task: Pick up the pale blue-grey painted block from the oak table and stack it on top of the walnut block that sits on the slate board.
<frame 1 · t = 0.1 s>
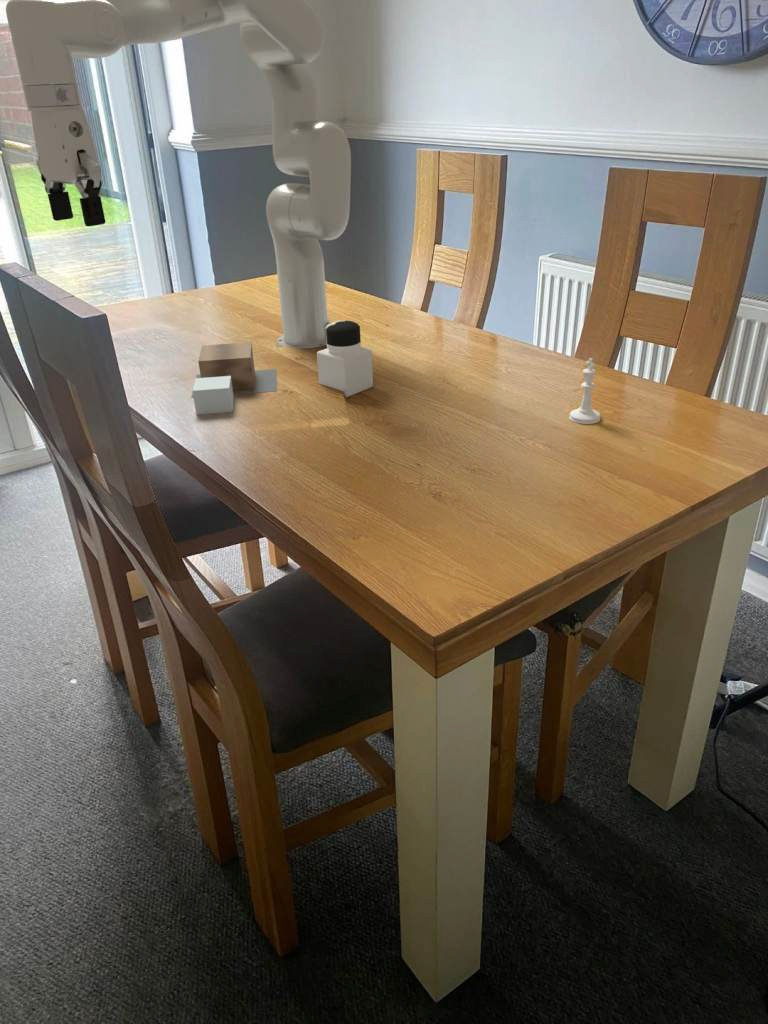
hand: (79, 222, 123), 31 cm above the table, tool pointing down, fingers open, 9 cm apart
walnut block: (230, 383, 144), point 1 cm above the table, touching slate board
blue-grey block: (216, 413, 135), on the table
chess piece: (584, 419, 128), on the table
medicine bottle: (346, 389, 143), on the table
slate board: (236, 388, 145), on the table
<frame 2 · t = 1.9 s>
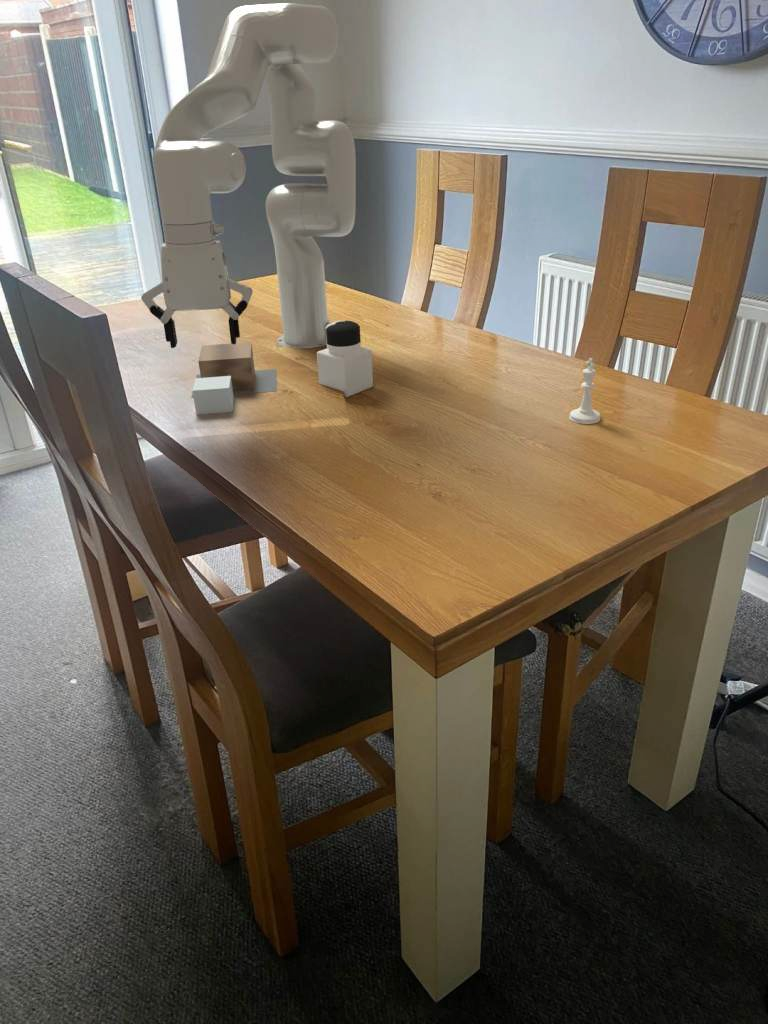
hand: (204, 343, 129), 12 cm above the table, tool pointing down, fingers open, 9 cm apart
nothing on the table moved.
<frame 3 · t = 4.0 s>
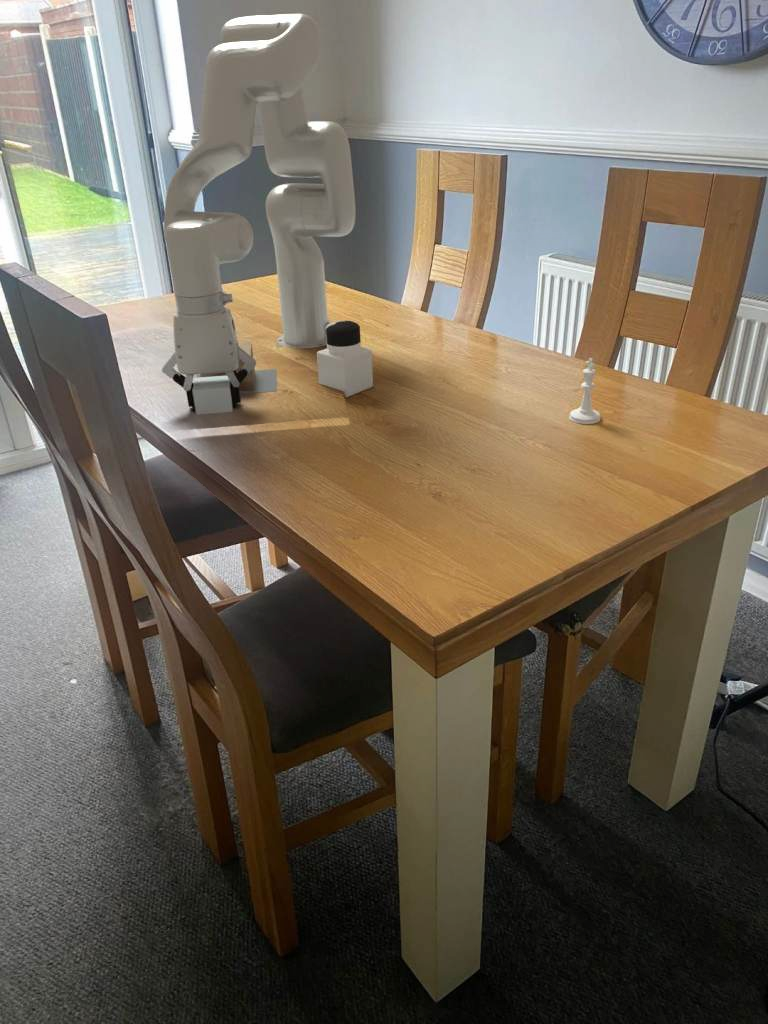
hand: (215, 407, 135), 1 cm above the table, tool pointing down, fingers closed on blue-grey block, 6 cm apart
blue-grey block: (216, 412, 135), on the table, touching gripper
everything else where it was.
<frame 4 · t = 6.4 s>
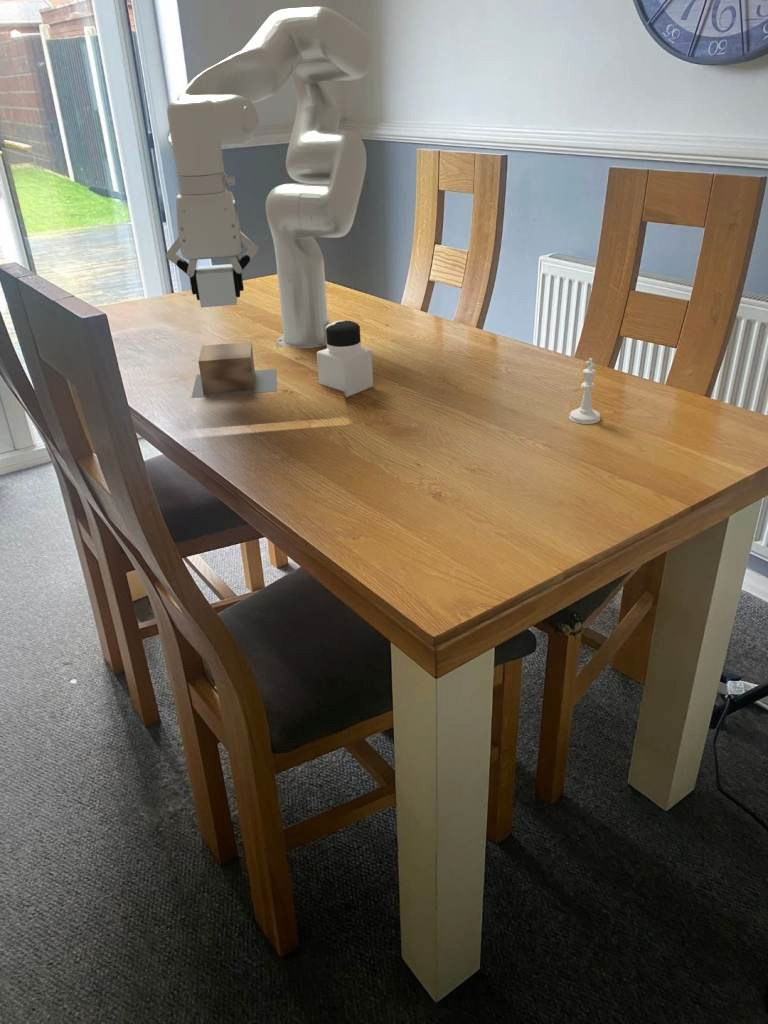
hand: (218, 295, 136), 17 cm above the table, tool pointing down, fingers closed on blue-grey block, 6 cm apart
blue-grey block: (219, 301, 137), point 16 cm above the table, touching gripper
everything else where it was.
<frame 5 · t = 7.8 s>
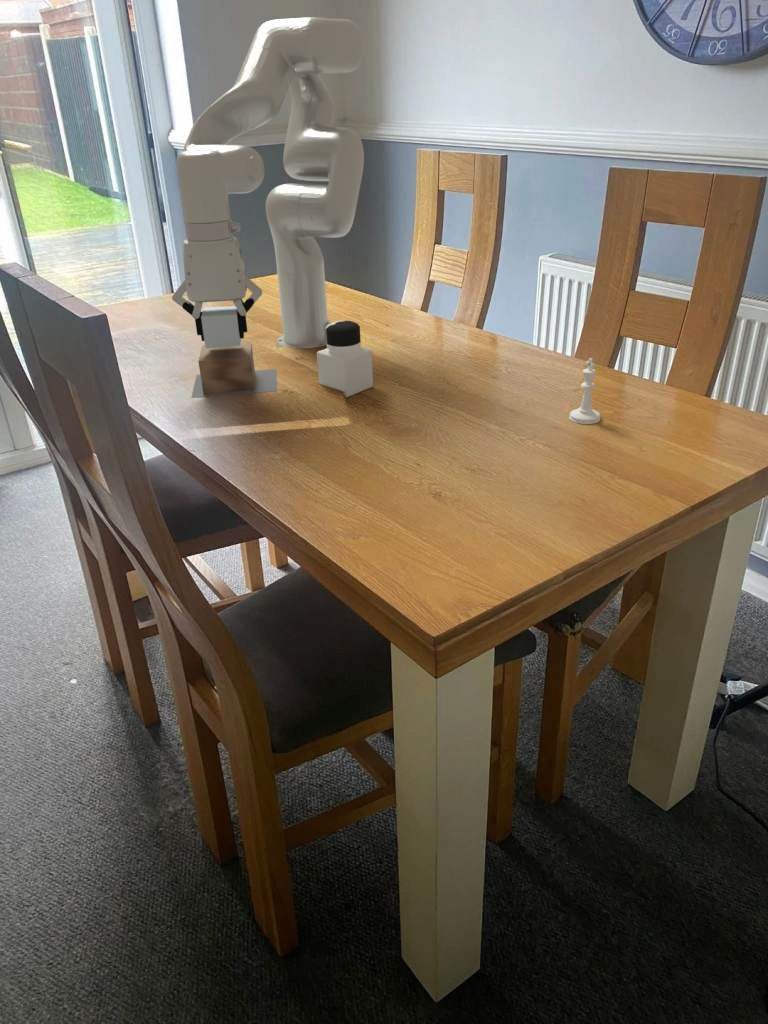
hand: (223, 336, 140), 10 cm above the table, tool pointing down, fingers closed on blue-grey block, 6 cm apart
blue-grey block: (223, 342, 140), point 9 cm above the table, touching gripper
everything else where it was.
when the fingers open (9 cm above the table, at t = 8.9 s): blue-grey block stays where it is, resting on walnut block.
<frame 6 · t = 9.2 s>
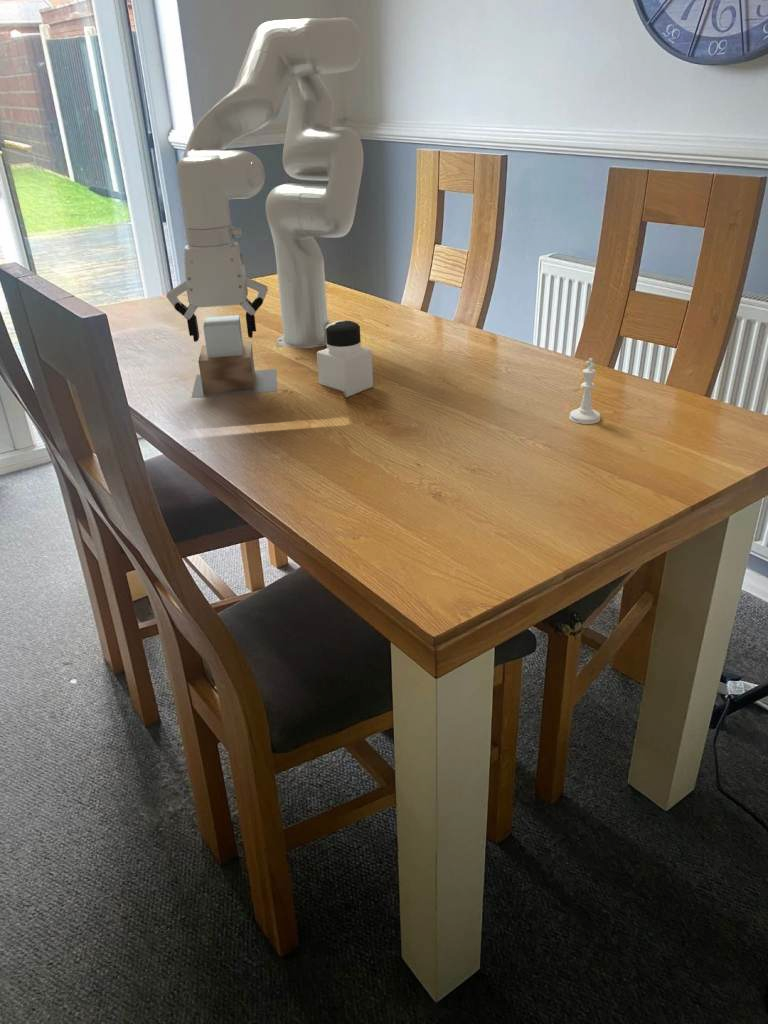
hand: (223, 337, 140), 10 cm above the table, tool pointing down, fingers open, 9 cm apart
walnut block: (230, 383, 144), point 1 cm above the table, touching blue-grey block, slate board
blue-grey block: (225, 351, 141), point 7 cm above the table, touching walnut block
everything else where it was.
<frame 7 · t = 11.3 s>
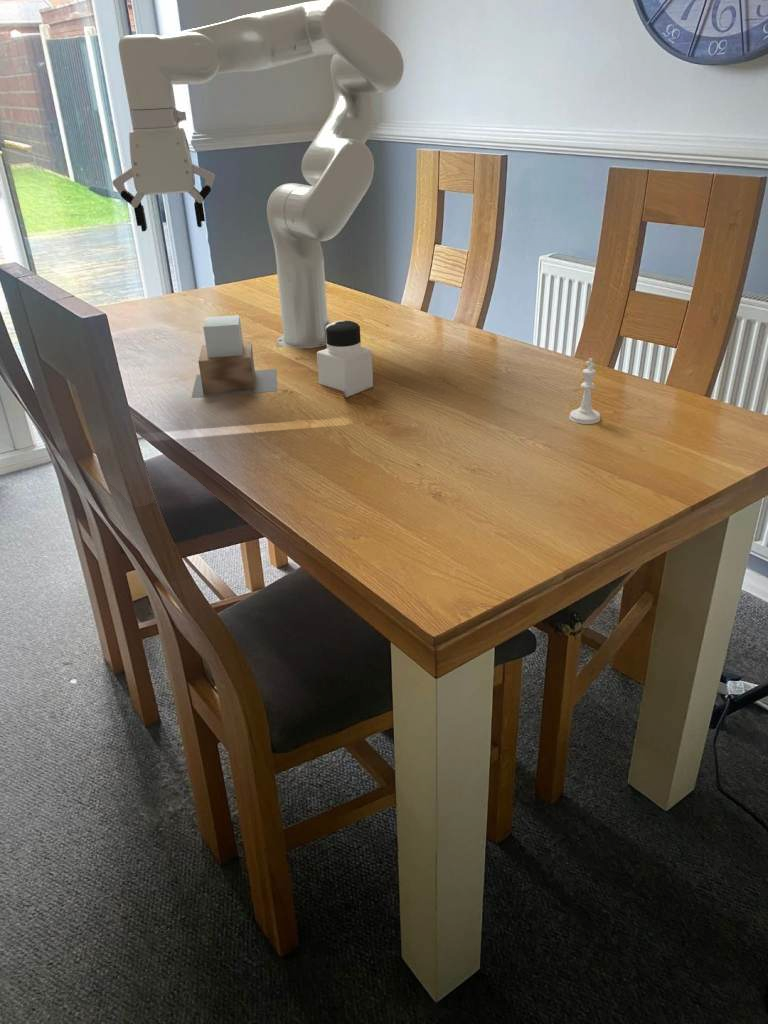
hand: (172, 228, 140), 27 cm above the table, tool pointing down, fingers open, 9 cm apart
nothing on the table moved.
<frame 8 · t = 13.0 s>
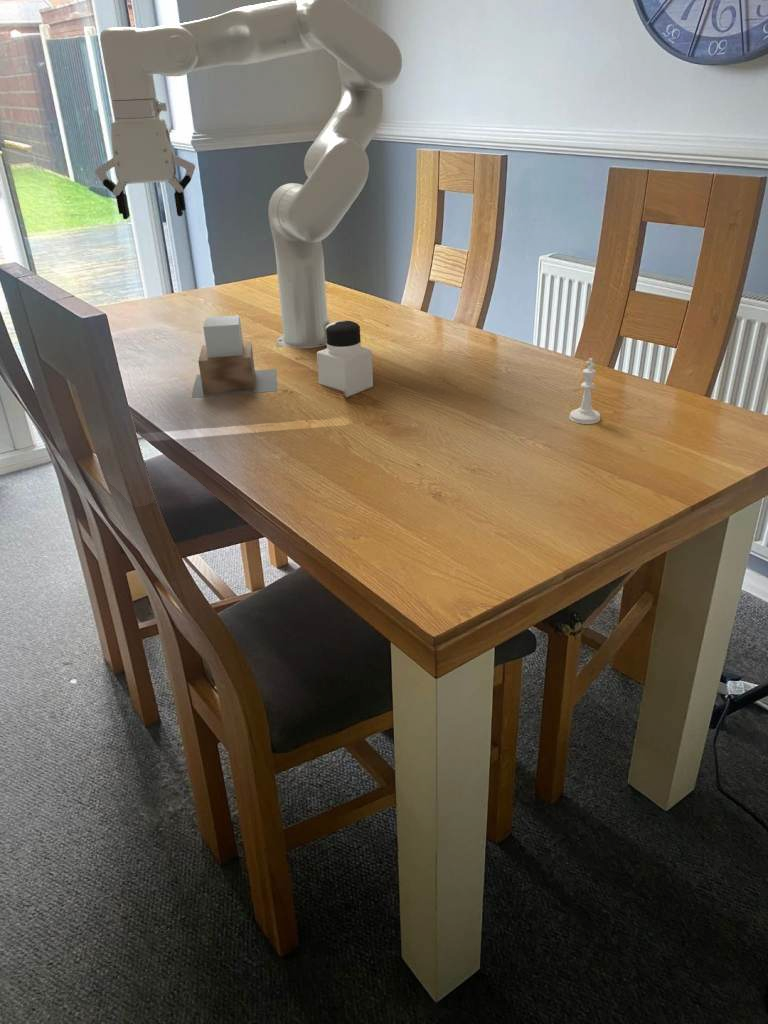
hand: (153, 216, 144), 28 cm above the table, tool pointing down, fingers open, 9 cm apart
nothing on the table moved.
at the end: blue-grey block 0.0 cm off-centre on the walnut block, point 6.0 cm above the walnut block's base; blue-grey block tilted 0°; the gripper is holding nothing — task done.
